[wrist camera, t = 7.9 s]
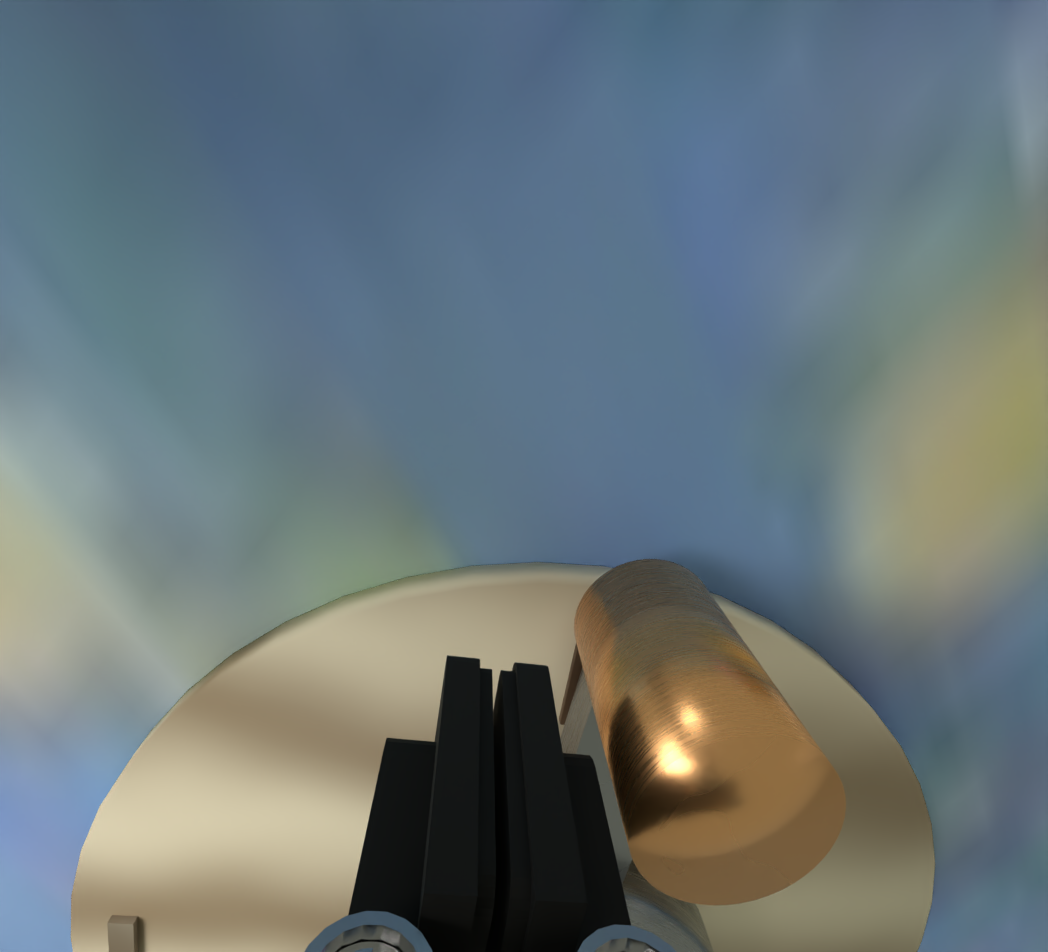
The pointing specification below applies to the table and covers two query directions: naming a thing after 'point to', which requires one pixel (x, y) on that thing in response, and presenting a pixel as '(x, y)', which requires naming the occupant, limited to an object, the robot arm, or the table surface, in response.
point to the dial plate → (412, 713)
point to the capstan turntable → (692, 753)
